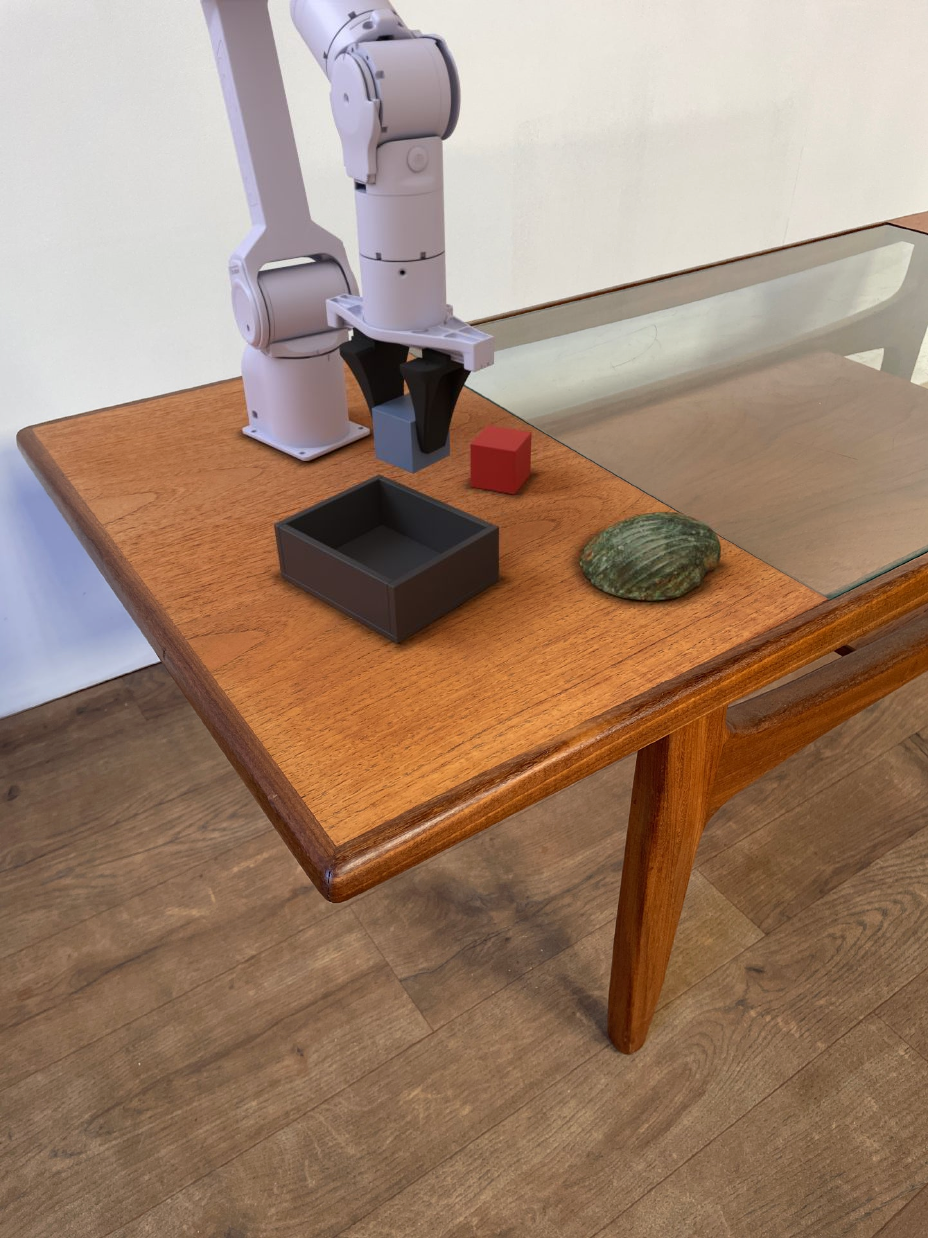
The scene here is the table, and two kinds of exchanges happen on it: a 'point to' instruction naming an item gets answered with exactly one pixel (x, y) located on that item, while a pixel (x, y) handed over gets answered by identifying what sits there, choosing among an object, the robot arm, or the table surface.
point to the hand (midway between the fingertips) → (411, 440)
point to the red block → (500, 459)
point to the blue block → (401, 436)
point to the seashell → (651, 556)
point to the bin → (388, 555)
